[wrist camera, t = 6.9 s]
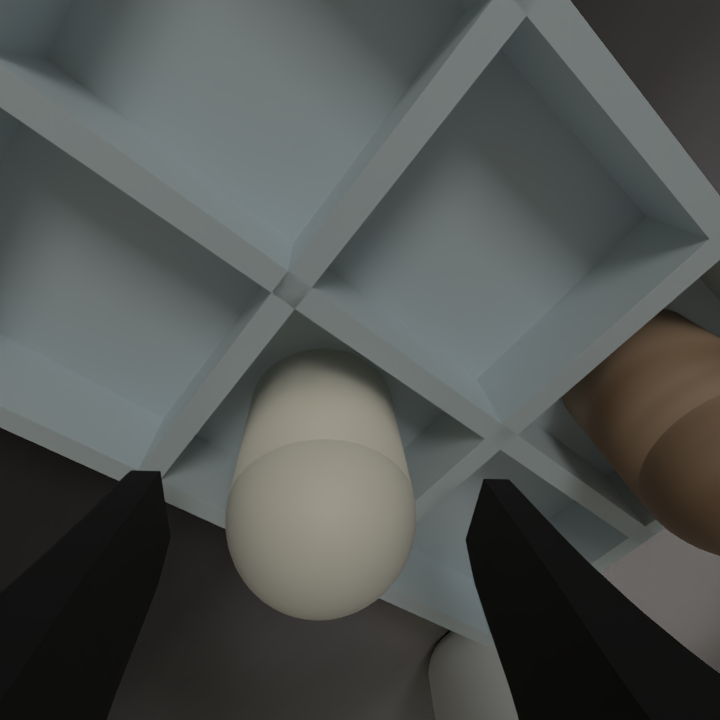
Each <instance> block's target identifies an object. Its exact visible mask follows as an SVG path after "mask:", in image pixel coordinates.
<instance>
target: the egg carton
mask: <svg viewBox="0 0 720 720" xmlns="http://www.w3.org/2000/svg"><path fill="white" fill-rule="evenodd" d="M662 309H668V310H671V311H674V312H677V313H679V314H680V315H682V316H684V317H685V318H687V319H689V320H690V321H692V322H694V323H696V324H697V325H699V326H701V327H702V328H704V329H706V330H707V331H709V332H711V333H712V334H714V335H716V336H718V337H719V338H720V196H719V194H718V193H717V192H716V190H715V189H714V188H713V186H712V185H711V184H710V183H709V181H708V180H707V179H706V177H705V176H704V175H703V173H702V172H701V171H700V170H699V168H698V167H697V166H696V164H695V163H694V162H693V160H692V159H691V158H690V156H689V155H688V154H687V153H686V151H685V150H684V149H683V147H682V146H681V145H680V143H679V142H678V141H677V139H676V138H675V137H674V136H673V134H672V133H671V132H670V130H669V129H668V128H667V126H666V125H665V124H664V122H663V121H662V120H661V119H660V117H659V116H658V115H657V113H656V112H655V111H654V109H653V108H652V107H651V105H650V104H649V103H648V102H647V100H646V99H645V98H644V96H643V95H642V94H641V92H640V91H639V90H638V89H637V87H636V86H635V85H634V83H633V82H632V81H631V79H630V78H629V77H628V75H627V74H626V73H625V72H624V70H623V69H622V68H621V66H620V65H619V64H618V62H617V61H616V60H615V58H614V57H613V56H612V55H611V53H610V52H609V51H608V49H607V48H606V47H605V45H604V44H603V43H602V41H601V40H600V39H599V38H598V36H597V35H596V34H595V32H594V31H593V30H592V28H591V27H590V26H589V24H588V23H587V22H586V21H585V19H584V18H583V17H582V15H581V14H580V13H579V11H578V10H577V9H576V7H575V6H574V5H573V4H572V2H571V1H570V0H0V427H1V428H3V429H5V430H7V431H9V432H12V433H14V434H16V435H18V436H21V437H23V438H25V439H27V440H29V441H32V442H34V443H36V444H38V445H40V446H43V447H45V448H47V449H49V450H52V451H54V452H56V453H58V454H60V455H63V456H65V457H67V458H69V459H72V460H74V461H76V462H78V463H80V464H83V465H85V466H87V467H89V468H91V469H94V470H96V471H98V472H100V473H103V474H105V475H107V476H109V477H111V478H114V479H116V480H118V481H120V480H121V479H122V478H123V477H124V476H125V475H126V474H127V473H128V472H130V471H131V470H139V471H161V478H162V485H163V491H164V498H165V502H167V503H169V504H171V505H174V506H176V507H178V508H180V509H182V510H185V511H187V512H189V513H191V514H194V515H196V516H198V517H200V518H202V519H205V520H207V521H209V522H211V523H213V524H216V525H218V526H220V527H222V528H225V529H226V526H225V519H226V508H227V502H228V497H229V493H230V488H231V484H232V480H233V476H234V472H235V468H236V463H237V459H238V455H239V451H240V447H241V443H242V438H243V434H244V430H245V426H246V422H247V418H248V413H249V409H250V405H251V401H252V397H253V393H254V390H255V388H256V385H257V383H258V382H259V380H260V378H261V377H262V376H263V375H264V373H265V372H266V371H267V370H268V369H269V368H270V367H271V366H272V365H274V364H275V363H277V362H278V361H280V360H281V359H283V358H285V357H287V356H289V355H292V354H294V353H297V352H301V351H305V350H312V349H333V350H339V351H343V352H347V353H350V354H353V355H355V356H357V357H359V358H361V359H363V360H365V361H366V362H367V363H369V364H370V365H371V366H373V367H374V368H375V369H376V370H377V371H378V372H379V374H380V375H381V376H382V377H383V379H384V380H385V382H386V384H387V386H388V389H389V391H390V395H391V399H392V404H393V408H394V412H395V416H396V421H397V425H398V429H399V433H400V438H401V442H402V446H403V450H404V455H405V459H406V463H407V467H408V472H409V476H410V480H411V484H412V489H413V493H414V497H415V504H416V530H415V537H414V542H413V546H412V549H411V552H410V555H409V557H408V560H407V562H406V564H405V566H404V568H403V570H402V571H401V573H400V575H399V576H398V578H397V579H396V581H395V582H394V583H393V584H392V585H391V587H390V588H389V589H388V590H387V591H386V592H385V593H384V594H383V595H382V596H381V597H380V599H382V600H384V601H387V602H389V603H391V604H393V605H395V606H398V607H400V608H402V609H404V610H406V611H409V612H411V613H413V614H415V615H418V616H420V617H422V618H424V619H426V620H429V621H431V622H433V623H435V624H438V625H440V626H442V627H444V628H446V629H449V630H451V631H453V632H455V633H457V634H460V635H462V636H464V637H466V638H469V639H471V640H473V641H475V642H477V643H480V644H482V645H484V646H486V647H490V646H491V645H493V644H494V641H493V638H492V635H491V632H490V629H489V626H488V623H487V620H486V617H485V614H484V611H483V608H482V605H481V602H480V599H479V596H478V593H477V590H476V587H475V583H474V579H473V574H472V570H471V565H470V560H469V555H468V550H467V545H466V536H467V533H468V529H469V526H470V523H471V519H472V516H473V513H474V509H475V506H476V502H477V499H478V496H479V492H480V489H481V486H482V482H483V479H509V480H510V481H511V482H512V483H513V484H514V485H515V486H516V487H517V488H518V489H519V490H520V491H521V492H522V493H523V494H524V496H525V497H526V498H527V499H528V500H529V501H530V502H531V503H532V504H533V505H534V506H535V507H536V508H537V509H538V510H539V512H540V513H541V514H542V515H543V516H544V517H545V518H546V519H547V520H548V521H549V522H550V523H551V524H552V525H553V526H554V527H555V528H556V529H557V531H558V532H559V533H560V534H561V535H562V536H563V537H564V538H565V539H566V540H567V541H568V542H569V543H570V544H571V545H572V546H573V547H574V548H575V549H576V550H577V551H578V552H579V553H580V554H581V555H582V556H583V557H584V558H585V559H586V560H587V561H588V562H589V563H590V564H591V565H592V566H593V567H594V568H595V569H596V570H597V571H598V572H601V571H602V570H604V569H605V568H607V567H608V566H610V565H611V564H613V563H614V562H616V561H617V560H619V559H620V558H621V557H623V556H624V555H626V554H627V553H629V552H630V551H632V550H633V549H635V548H636V547H638V546H639V545H641V544H642V543H644V542H645V541H647V540H648V539H650V538H651V537H653V536H654V535H656V534H657V533H659V532H660V531H661V530H663V529H664V528H665V527H664V526H663V525H661V524H660V523H659V522H658V521H657V520H656V519H655V518H654V517H653V516H652V515H651V514H650V513H649V512H648V511H647V509H646V508H645V507H644V506H643V504H642V503H641V502H640V501H639V499H638V498H637V497H636V496H635V494H634V493H633V492H632V491H631V489H630V488H629V487H628V486H627V484H626V483H625V482H624V481H623V479H622V478H621V477H620V475H619V474H618V473H617V472H616V470H615V469H614V468H613V467H612V465H611V464H610V463H609V462H608V460H607V459H606V458H605V457H604V455H603V454H602V453H601V452H600V450H599V449H598V448H597V447H596V445H595V444H594V443H593V442H592V440H591V439H590V438H589V437H588V435H587V434H586V433H585V432H584V430H583V429H582V428H581V427H580V425H579V424H578V423H577V422H576V420H575V419H574V418H573V417H572V415H571V414H570V413H569V411H568V410H567V409H566V407H565V405H564V403H563V401H562V396H563V395H564V394H565V393H566V392H568V391H569V390H570V389H571V388H572V387H573V386H574V385H576V384H577V383H578V382H579V381H580V380H581V379H583V378H584V377H585V376H586V375H587V374H588V373H590V372H591V371H592V370H593V369H594V368H595V367H596V366H598V365H599V364H600V363H601V362H602V361H603V360H605V359H606V358H607V357H608V356H609V355H610V354H611V353H613V352H614V351H615V350H616V349H617V348H618V347H620V346H621V345H622V344H623V343H624V342H625V341H626V340H628V339H629V338H630V337H631V336H632V335H633V334H635V333H636V332H637V331H638V330H639V329H640V328H642V327H643V326H644V325H645V324H646V323H647V322H648V321H650V320H651V319H652V318H653V317H654V316H655V315H657V314H658V313H659V312H660V311H661V310H662Z"/></svg>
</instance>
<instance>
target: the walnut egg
mask: <svg viewBox="0 0 720 720" xmlns="http://www.w3.org/2000/svg"><path fill="white" fill-rule="evenodd" d="M562 401H563V403H564V405H565V407H566V409H567V410H568V411H569V413H570V414H571V415H572V417H573V418H574V419H575V420H576V422H577V423H578V424H579V425H580V427H581V428H582V429H583V430H584V432H585V433H586V434H587V435H588V437H589V438H590V439H591V440H592V442H593V443H594V444H595V445H596V447H597V448H598V449H599V450H600V452H601V453H602V454H603V455H604V457H605V458H606V459H607V460H608V462H609V463H610V464H611V465H612V467H613V468H614V469H615V470H616V472H617V473H618V474H619V475H620V477H621V478H622V479H623V481H624V482H625V483H626V484H627V486H628V487H629V488H630V489H631V491H632V492H633V493H634V494H635V496H636V497H637V498H638V499H639V501H640V502H641V503H642V504H643V506H644V507H645V508H646V509H647V511H648V512H649V513H650V514H651V515H652V516H653V517H654V518H655V519H656V520H657V521H658V522H659V523H660V524H661V525H663V526H664V527H665V528H666V529H667V530H669V531H670V532H671V533H673V534H674V535H676V536H677V537H679V538H680V539H682V540H684V541H685V542H687V543H689V544H691V545H693V546H695V547H697V548H699V549H702V550H704V551H707V552H710V553H713V554H716V555H719V556H720V338H719V337H718V336H716V335H714V334H712V333H711V332H709V331H707V330H706V329H704V328H702V327H701V326H699V325H697V324H696V323H694V322H692V321H690V320H689V319H687V318H685V317H684V316H682V315H680V314H679V313H677V312H674V311H671V310H668V309H662V310H661V311H660V312H659V313H658V314H657V315H655V316H654V317H653V318H652V319H651V320H650V321H648V322H647V323H646V324H645V325H644V326H643V327H642V328H640V329H639V330H638V331H637V332H636V333H635V334H633V335H632V336H631V337H630V338H629V339H628V340H626V341H625V342H624V343H623V344H622V345H621V346H620V347H618V348H617V349H616V350H615V351H614V352H613V353H611V354H610V355H609V356H608V357H607V358H606V359H605V360H603V361H602V362H601V363H600V364H599V365H598V366H596V367H595V368H594V369H593V370H592V371H591V372H590V373H588V374H587V375H586V376H585V377H584V378H583V379H581V380H580V381H579V382H578V383H577V384H576V385H574V386H573V387H572V388H571V389H570V390H569V391H568V392H566V393H565V394H564V395H563V396H562Z"/></svg>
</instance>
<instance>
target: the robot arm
mask: <svg viewBox="0 0 720 720" xmlns="http://www.w3.org/2000/svg"><path fill="white" fill-rule="evenodd" d="M169 540H170V531H169V525H168V518H167V511H166V505H165V498H164V491H163V485H162V478H161V471H139V470H131V471H130V472H128V473H127V474H126V475H125V476H124V477H123V478H122V479H121V480H120V481H119V482H118V483H117V484H116V485H115V486H114V487H113V488H112V489H111V490H110V491H109V492H108V493H107V494H106V495H105V496H104V497H103V498H102V499H101V500H100V501H99V502H98V503H97V504H96V505H95V506H94V507H93V508H92V509H91V510H90V511H89V512H88V513H87V514H86V515H85V516H84V517H83V518H82V519H81V520H80V521H79V522H78V523H77V524H75V525H74V526H73V527H72V528H71V529H70V530H69V531H68V532H67V533H66V534H65V535H64V536H63V537H62V538H61V539H60V540H59V541H57V542H56V543H55V544H54V545H53V546H52V547H51V548H50V549H49V550H48V551H47V552H46V553H45V554H44V555H43V556H41V557H40V558H39V559H38V560H37V561H36V562H35V563H34V564H32V565H31V566H30V567H29V568H28V569H27V570H26V571H24V572H23V573H22V574H21V575H20V576H19V577H18V578H16V579H15V580H14V581H13V582H12V583H11V584H10V585H8V586H7V587H6V588H5V589H4V590H3V591H2V592H0V720H106V719H107V717H108V714H109V711H110V708H111V705H112V702H113V699H114V697H115V694H116V692H117V689H118V686H119V684H120V681H121V679H122V676H123V674H124V671H125V668H126V666H127V663H128V661H129V658H130V656H131V653H132V650H133V648H134V645H135V643H136V640H137V638H138V635H139V632H140V630H141V627H142V625H143V622H144V620H145V617H146V614H147V612H148V609H149V607H150V604H151V601H152V599H153V596H154V593H155V591H156V588H157V585H158V582H159V579H160V575H161V571H162V568H163V564H164V560H165V556H166V552H167V548H168V544H169ZM466 545H467V550H468V555H469V560H470V565H471V570H472V574H473V579H474V583H475V587H476V590H477V593H478V596H479V599H480V602H481V605H482V608H483V611H484V614H485V617H486V620H487V623H488V626H489V629H490V632H491V635H492V638H493V641H494V644H495V647H496V650H497V653H498V656H499V659H500V662H501V665H502V667H503V670H504V673H505V676H506V679H507V682H508V685H509V688H510V692H511V695H512V698H513V702H514V705H515V708H516V712H517V715H518V719H519V720H720V674H719V673H718V672H717V671H715V670H714V669H713V668H711V667H710V666H709V665H707V664H706V663H705V662H703V661H702V660H701V659H700V658H698V657H697V656H696V655H694V654H693V653H692V652H691V651H689V650H688V649H687V648H685V647H684V646H683V645H682V644H680V643H679V642H678V641H677V640H676V639H674V638H673V637H672V636H671V635H670V634H668V633H667V632H666V631H665V630H664V629H662V628H661V627H660V626H659V625H658V624H656V623H655V622H654V621H653V620H652V619H650V618H649V617H648V616H647V615H646V614H644V613H643V612H642V611H641V610H640V609H639V608H638V607H636V606H635V605H634V604H633V603H632V602H631V601H630V600H629V599H627V598H626V597H625V596H624V595H623V594H622V593H621V592H620V591H619V590H618V589H617V588H616V587H614V586H613V585H612V584H611V583H610V582H609V581H608V580H607V579H606V578H605V577H604V576H603V575H601V574H600V573H599V572H598V571H597V570H596V569H595V568H594V567H593V566H592V565H591V564H590V563H589V562H588V561H587V560H586V559H585V558H584V557H583V556H582V555H581V554H580V553H579V552H578V551H577V550H576V549H575V548H574V547H573V546H572V545H571V544H570V543H569V542H568V541H567V540H566V539H565V538H564V537H563V536H562V535H561V534H560V533H559V532H558V531H557V529H556V528H555V527H554V526H553V525H552V524H551V523H550V522H549V521H548V520H547V519H546V518H545V517H544V516H543V515H542V514H541V513H540V512H539V510H538V509H537V508H536V507H535V506H534V505H533V504H532V503H531V502H530V501H529V500H528V499H527V498H526V497H525V496H524V494H523V493H522V492H521V491H520V490H519V489H518V488H517V487H516V486H515V485H514V484H513V483H512V482H511V481H510V480H509V479H483V482H482V486H481V489H480V492H479V496H478V499H477V502H476V506H475V509H474V513H473V516H472V519H471V523H470V526H469V529H468V533H467V536H466Z"/></svg>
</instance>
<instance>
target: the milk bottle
mask: <svg viewBox="0 0 720 720" xmlns="http://www.w3.org/2000/svg"><path fill="white" fill-rule="evenodd" d="M428 677H429V683H430V690H431V696H432V703H433V708H434V714H435V719H436V720H519V719H518V715H517V712H516V708H515V705H514V702H513V698H512V695H511V692H510V688H509V685H508V682H507V679H506V676H505V673H504V670H503V667H502V665H501V662H500V659H499V656H498V653H497V650H496V647H495V644H493V645H491V646H490V647H486V646H484V645H482V644H480V643H477V642H475V641H473V640H471V639H469V638H466V637H464V636H462V635H460V634H457V633H455V632H453V631H451V632H450V633H448V634H447V635H446V636H445V637H444V638H443V639H441V641H440V642H439V643H438V645H437V646H436V647H435V648H434V651H433V653H432V655H431V659H430V664H429V669H428Z"/></svg>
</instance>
